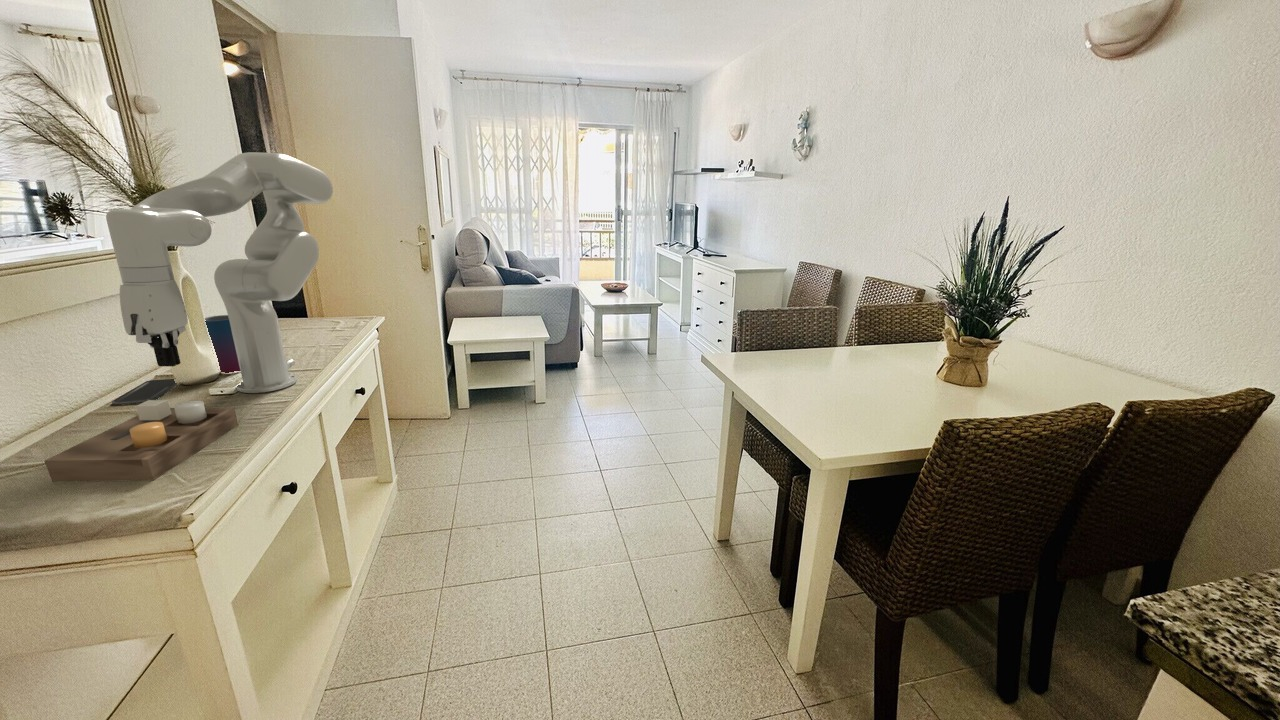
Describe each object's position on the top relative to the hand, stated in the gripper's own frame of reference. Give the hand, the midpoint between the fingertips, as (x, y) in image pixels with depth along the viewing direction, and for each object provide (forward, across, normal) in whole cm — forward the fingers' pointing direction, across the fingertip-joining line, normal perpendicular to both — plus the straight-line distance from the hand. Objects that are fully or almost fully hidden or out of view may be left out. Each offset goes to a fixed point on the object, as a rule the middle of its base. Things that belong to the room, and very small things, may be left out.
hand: (169, 365), depth 105 cm
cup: (+12, -33, -11) cm, 37 cm away
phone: (+13, -18, -20) cm, 30 cm away
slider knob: (+9, +6, 0) cm, 11 cm away
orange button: (+9, +17, +8) cm, 21 cm away
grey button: (+9, +7, +8) cm, 14 cm away
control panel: (+13, +12, +4) cm, 18 cm away
